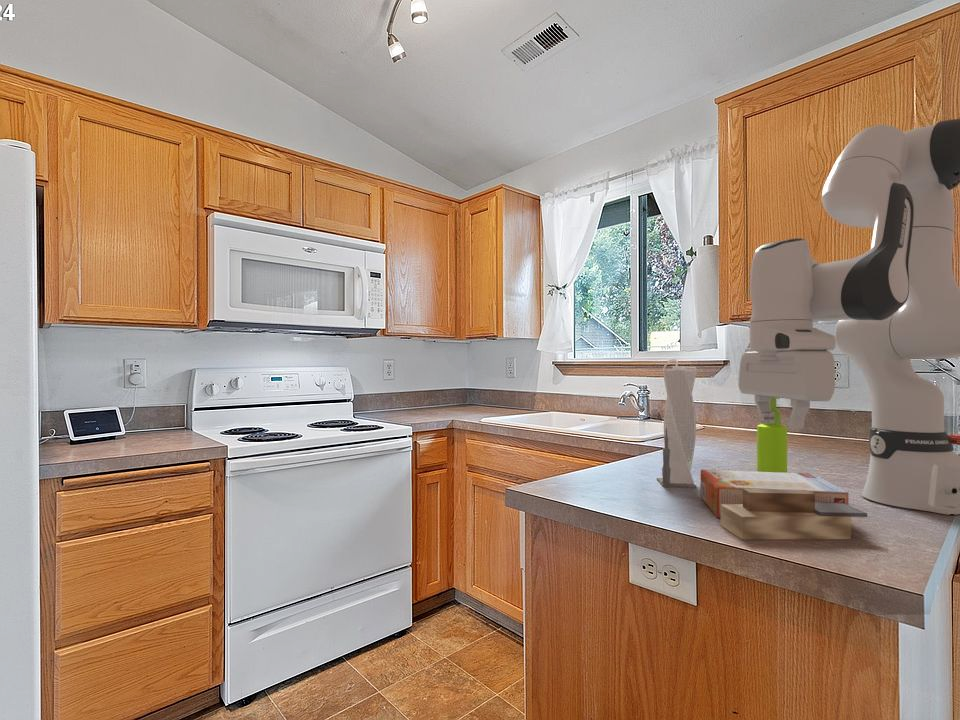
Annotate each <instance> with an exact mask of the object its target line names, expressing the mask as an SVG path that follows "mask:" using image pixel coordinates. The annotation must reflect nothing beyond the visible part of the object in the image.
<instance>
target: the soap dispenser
mask: <svg viewBox="0 0 960 720" xmlns="http://www.w3.org/2000/svg"><path fill="white" fill-rule="evenodd" d="M777 399H779V400H781V398H777V397H771V402H769V403H770V407H771V411H772V413H774V422H773V423H760V424H758V425H757V426H756V472H777V473H788V427H787V425H782V421H781V417H782V415H781V414H782V411H781V410H779V408H777Z"/></svg>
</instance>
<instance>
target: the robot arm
mask: <svg viewBox="0 0 960 720" xmlns="http://www.w3.org/2000/svg"><path fill="white" fill-rule="evenodd" d="M959 185H960V118H954V119H953V118H951V119H947V120H940V121H938V122H937V123H935V124H929V125H925V126H922V127H917V128H913V129H909V130H905V131H902V130H901V129H900V128H898V127H896V126H893V125H887V124H878V125H873V126H870V127H866V128H864V129H862V130H861V131H859V132H858V133H856V134H855V135H854V136H853V137H852V138H851V139H850V141H849V142H848V143H847V145H846V146H845V147H844V148H843V150H842V151H841V153H840V154H839V156H837V159H836V161H835V162H834V164H833V165H832V168H831V170H830V172H829V174H828V176H827V178H826V180H825V183H824V185H823V188H822V193H821V204H822V206H823V209H824V211H825V212H826V213H827V214H828V216H829V217H831V219H833V220H834V221H836V222H838V223H840V224H841V225H845V226H848V227H852V228H871V229H872V228H873V229H872V230H873V231H872V237H871V244H870V249H869V250H868V251H866V252H864V253H862V254H860V255H858V256H856V257H855V256H854V257H851V258H847V259H842V260H835V261H829V262H825V263H823V262H822V263H820V262H819V261H817V260H815V259H814V258H812V256H811V250H810V249H811V248H810V246H809V245H810V244H809V242H808V240H806V239H805V238H790V239H785V240H779V241H775V242H774V241H773V242H768V243H765V244H763V245H760V246H759V247H758V248H756V249H755V251H754V253H753V256H752V260H751V266H750V277H749V279H750V280H749V297H750V298H749V299H750V302H751V305H752V306H751V307H752V311H751V315H750V319H749V343H748V345H747V347H746V348H745V349H744V353H743V354H742V355H741V358H740V363H739V373H738V388H739V391H740V393H741V394H745V395H753V396H754V402H755V406H756V408H757V410H758V421H759V422H760V423H761V424H763V423H773V422H774V413H772V411H771V407H770V403H769V402H771V397H777V398H780V399H788V400H790V407H792V410H791V413H790V416H786V422H787V424H786V427H787V429H790V430H791V429H792V430H804V428H805V418H806V416H807V414H808V412H809V410H810V408H811V402H829V401H830V400H831V399H832V397H833V395H834V393H835V389H836V388H835V387H836V383H835V382H836V366H835V365H836V362H835V357H834V354H832V352H831V351H833V350H835V348H836V345H837V348H839V350H840V352H842V354H844V355H846V356H848V357H849V358H850V359H851V360H852V361H854V363H855V364H856V365H857V366H858V367H859V369H860V370H861V372H862V373H863V375H864V377H865V379H866V382H867V385H868V389H869V394H870V405H871V406H870V407H871V408H870V409H871V426H870V427H869V428H868V445H869V450H870V456H869V457H870V458H869V463H868V464H869V465H868V471H867V476H866V479H865V480H866V481H865V484H864V487H863V488H862V489H863V490H862V493H861V496H862V497H863V498H865V499H867V500H870V501H873V502H875V503H879V504H883V505H888V506H894V507H898V508H904V509H911V510H919V511H925V512H926V511H927V512H932V513H937V514H942V515H949V516H951V515H950V514H954V515H960V455H958V454H957V453H956V452H955V451H954V450H955V449H954V447H953V445H958V446H960V434H957V433H952V434H950V435H949V434H948V433H947V432H946V431H945V396H944V393H943V391H942V390H941V388H939V386H937V385H936V384H935V383H933V382H931V381H930V380H928V379H924V378H923V377H921V376H919V375H918V374H917V373H916V371H915V370H914V369H913V366H912V361H911V360H921V359H922V360H927V359H928V360H931V359H932V360H941V359H942V360H947V359H948V360H949V359H955V358H960V286H959V284H958V283H957V281H956V278H955V275H954V271H953V247H954V246H953V245H954V235H955V234H954V233H955V207H954V199H953V193H952V190H953V189H955V188H957V187H958V186H959ZM835 321H837V322H836V324H835V327H834V328H835V329H834V332H833V333H834V335H832V334H830V333H828V332H826V331H823V330H821V329H818V328H816V327H813V326H814V322H835Z"/></svg>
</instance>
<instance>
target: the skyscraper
mask: <svg viewBox="0 0 960 720" xmlns="http://www.w3.org/2000/svg"><path fill="white" fill-rule="evenodd" d="M672 362H675V365H673V366H672V369H666V367H667V365H668V364H669V363H672ZM697 371H698V368H697V367H696V366H692V365H691V366H686V365H685V366H684V365H682V366H681V365H680V366H679V361H678V360H677V359H669V360H667V361H666V362H665V364H664V366H663V368H662V374H663V375H662V376H663V380H664V385H665V391H666V400H665V405H664V414H663V441H664V442H663V443H664V447H662V462H663V465H662V467H661V471H662V473H661V474H662V477H656V481H657V482H658V481H659V482H660V483H659V482H658V483H659V484H660V485H661V487H664V488H665V487H666V488H690V489H697V485H696V484H695V481H694V479H693V475H692V472H691V471H692V465H693V460H694V454H695V448H696V447H695V446H696V436H697V435H696V434H697V418H696V417H697V415H696V409H695V402H694V397H693V390H694V386H695V382H696V376H697Z"/></svg>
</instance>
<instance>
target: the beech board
mask: <svg viewBox="0 0 960 720" xmlns="http://www.w3.org/2000/svg"><path fill="white" fill-rule="evenodd" d="M720 526H721V527H723V528H724V529H726V530H727V531H729V532H730V533H732V534H733V535H734V536H736V537H737V538H740V539H741V540H852V517H841V516H819V515H817V514H815V513H798V512H754V511H748V510H747V509H745V508H744V507H743V504H721V518H720Z"/></svg>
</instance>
